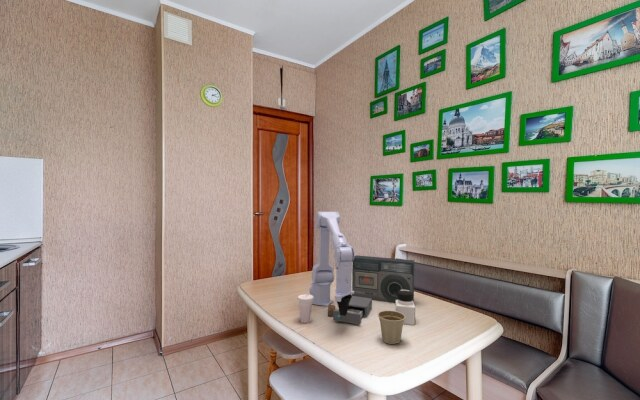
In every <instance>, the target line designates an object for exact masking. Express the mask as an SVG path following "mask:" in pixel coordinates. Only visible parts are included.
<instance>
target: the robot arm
mask: <svg viewBox="0 0 640 400" xmlns="http://www.w3.org/2000/svg"><path fill="white" fill-rule="evenodd" d="M340 222H341V215H340V213H339V211H317V212H316V215H315V228H316V229H317V230H318V232H319V233H318V234H319V237H318V239H319V240H318V241H319V243H318V261H317V263H316V264H314V265H313V266H312V271H311V280H312V281H311V284H310V286H309V295H312V296H314V300H313V303H312V305H317V306H324V307H328V305H331V303H333V301H335V302H336V303H337V307H338V310H339V312H340V315H343V316H346V314H347V310H348V306H349V302H350V300H351V298H352V294H354V291H352V270H353V261H354V256H355V250H354V247H353V246H351V245H350V244H348V241H347V239H346V236H345V234H343V233H342V232H341V230H340ZM330 235H331V237H330ZM330 241H331V244H332V247H333V250H334V253H333V254H334V255H333V256H334V263H335V265H334V266H335V267H336V268H335V269H336V273H335V271H334V267H333V266H332V264H330ZM335 274H336V275H335ZM335 276H336V278H335ZM334 280H335V282H336V284H335V285H336V286H335V287H336V288H335V296H334V299H331V285H332V283H334Z"/></svg>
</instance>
